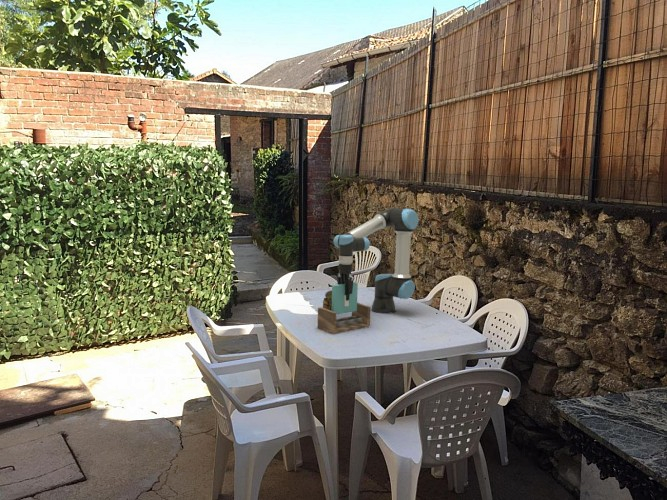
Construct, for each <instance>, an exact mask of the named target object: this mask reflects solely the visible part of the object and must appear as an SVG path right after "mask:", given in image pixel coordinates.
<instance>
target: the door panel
mask: <svg viewBox="0 0 667 500" xmlns="http://www.w3.org/2000/svg"><path fill="white" fill-rule="evenodd" d="M358 286H359V285H358V282H354V281H353V291H352V294H350V295H349V306H344V294H345V284H338V285H337V284H333V285H331V291H332V311H333V312H336V316H337V315H342V314H347V313H352V312H355V311H357V303H358Z"/></svg>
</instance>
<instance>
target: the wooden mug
mask: <svg viewBox="0 0 667 500" xmlns="http://www.w3.org/2000/svg"><path fill="white" fill-rule="evenodd" d="M322 308H325V309H328V310H330V311H332V289H331V290H328V291H326V292H325V294H324V298H323V300H322Z"/></svg>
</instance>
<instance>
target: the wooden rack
mask: <svg viewBox="0 0 667 500" xmlns="http://www.w3.org/2000/svg"><path fill="white" fill-rule="evenodd" d="M371 309H372V306H371V305H370V306H369V305H366V304H363V303H359V302H357V311H355V312H351V316H346V317H340V318H337V315H336V312H333V311H330V310H328V309H325V308H323V306H322V307H321V306H320V307H317V329H319V330H322V331H324V332H327V333H329V334H331V335H336V333H337V334H340V333H341V332H342V333H346V331H347V332H351V331H350V330H352V331H356V330H355V329H357V330H360V329H361V328H362V329H366V328H365V327H367V328H370V327H371V312H372V310H371ZM369 326H370V327H369Z"/></svg>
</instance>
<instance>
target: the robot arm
mask: <svg viewBox="0 0 667 500" xmlns="http://www.w3.org/2000/svg"><path fill="white" fill-rule="evenodd" d="M418 225H419V216H418V214H417V213H416V211H415V210H413V209H411V208H400V207H399V208H398V207H390V208H387V209H385V210H382V211H381V212H378V213H377V214H375V215H374V216H373V218H371V219H370V220H368V221H366V222H365V223H362V224H360V225H359V226H357V227H355V228H353V229H351V230H349V231H348V232H346V233H345V234H338V235H336V236H334V238H333V245H334V247H335V248H338V271H339V272H338V273H336V280H337V281H336V282H337V283H336V285H338V284H345V294H344V306H349V295H350V294H352V291H353V283H354V280H355V276H352V271H353V263H354V261H353V259H354V258H353V257H354V252H355V253H356V252H365V251H368V250H369V249H370V245H371V243H370V240H369V239H368V236H369V235H372V234H374V233H375V232H377V231H379V230H383V229H385V228H393V230H394V232H395V234H396V236H395V237H396V242H395V261H394V273H380V274H377V275H376V276H375V280H374V299H373V301H372V305H371V312H375V313H378V312H381V313H380V314H390V313H389V312H392V313H395V312H396V311H395V310H397V307H396V304H395V300H394V298H397V299H398V298H399V299H400V300H401V299H403V300H407V299H410V298H411V297H412V295H414V292H415V289H416V285H415V282H414V281H413V280H412V275H411V274H410V260H411V244H412V243H411V239H412V234H413V233H414V231H415V229H416V228H418ZM394 311H395V312H394Z"/></svg>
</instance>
